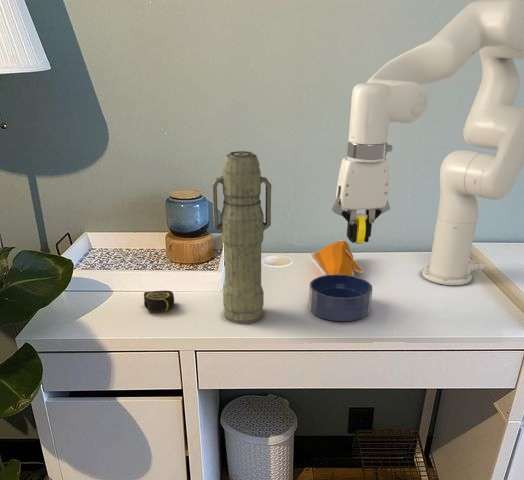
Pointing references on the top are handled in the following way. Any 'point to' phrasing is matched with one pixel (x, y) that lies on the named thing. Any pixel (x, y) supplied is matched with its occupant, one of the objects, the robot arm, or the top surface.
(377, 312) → the top surface
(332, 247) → the fish
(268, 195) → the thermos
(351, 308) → the navy bowl
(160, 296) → the tape measure
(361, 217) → the watch
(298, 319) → the top surface
